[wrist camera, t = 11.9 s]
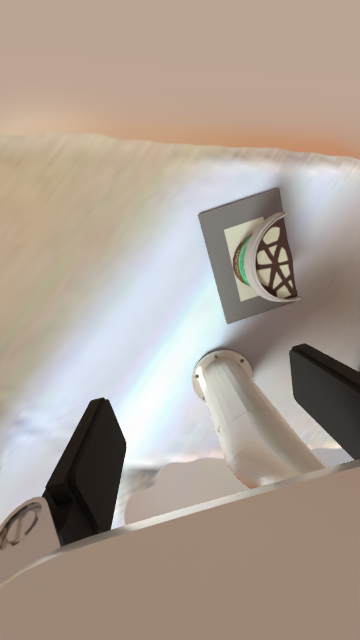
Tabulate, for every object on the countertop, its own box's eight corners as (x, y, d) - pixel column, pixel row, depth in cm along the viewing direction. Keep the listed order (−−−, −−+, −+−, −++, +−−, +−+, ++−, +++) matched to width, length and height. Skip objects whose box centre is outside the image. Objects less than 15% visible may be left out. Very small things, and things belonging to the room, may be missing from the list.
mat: (294, 300, 39) (296, 301, 38) (226, 323, 39) (227, 324, 38) (277, 188, 33) (279, 187, 33) (198, 215, 33) (198, 214, 33)
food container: (217, 236, 34) (240, 225, 24) (251, 224, 34) (287, 208, 24) (235, 303, 37) (261, 317, 28) (266, 292, 37) (303, 301, 28)
